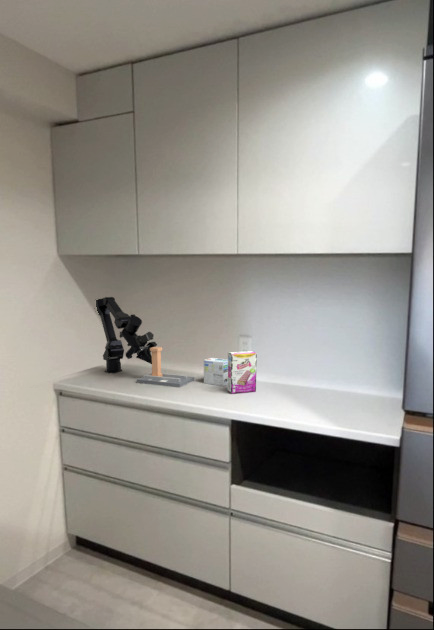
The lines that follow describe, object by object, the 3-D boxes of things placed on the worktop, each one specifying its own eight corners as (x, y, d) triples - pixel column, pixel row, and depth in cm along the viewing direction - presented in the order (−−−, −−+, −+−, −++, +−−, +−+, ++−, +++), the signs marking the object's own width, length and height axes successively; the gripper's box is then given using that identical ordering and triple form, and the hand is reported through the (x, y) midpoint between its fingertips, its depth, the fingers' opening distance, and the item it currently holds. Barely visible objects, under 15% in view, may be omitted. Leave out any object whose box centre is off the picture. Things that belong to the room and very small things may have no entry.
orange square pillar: (150, 377, 198) (150, 348, 196) (155, 375, 201) (154, 346, 200) (158, 377, 196) (157, 348, 195) (162, 376, 200) (162, 347, 198)
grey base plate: (136, 382, 195) (136, 376, 195) (153, 376, 208) (153, 370, 207) (179, 387, 186) (179, 381, 186) (194, 380, 199) (194, 374, 199)
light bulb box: (231, 383, 193) (231, 359, 192) (223, 386, 187) (223, 361, 187) (211, 380, 199) (211, 357, 198) (203, 383, 193) (203, 359, 192)
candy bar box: (231, 394, 175) (231, 354, 173) (227, 391, 180) (227, 352, 178) (256, 391, 178) (257, 352, 177) (252, 388, 183) (252, 350, 182)
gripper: (130, 328, 191) (152, 355, 187) (153, 324, 208) (173, 348, 204) (116, 345, 195) (137, 371, 191) (139, 340, 212) (159, 364, 208)
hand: (153, 363), depth 199 cm, fingers closed, pressing on orange square pillar
